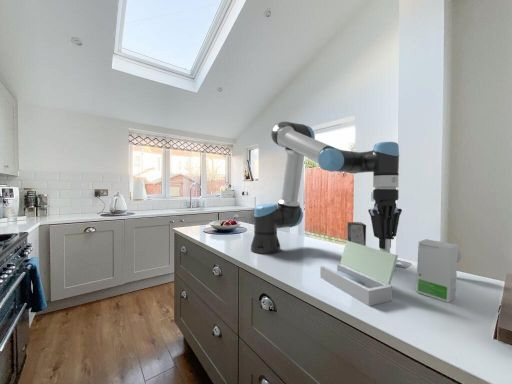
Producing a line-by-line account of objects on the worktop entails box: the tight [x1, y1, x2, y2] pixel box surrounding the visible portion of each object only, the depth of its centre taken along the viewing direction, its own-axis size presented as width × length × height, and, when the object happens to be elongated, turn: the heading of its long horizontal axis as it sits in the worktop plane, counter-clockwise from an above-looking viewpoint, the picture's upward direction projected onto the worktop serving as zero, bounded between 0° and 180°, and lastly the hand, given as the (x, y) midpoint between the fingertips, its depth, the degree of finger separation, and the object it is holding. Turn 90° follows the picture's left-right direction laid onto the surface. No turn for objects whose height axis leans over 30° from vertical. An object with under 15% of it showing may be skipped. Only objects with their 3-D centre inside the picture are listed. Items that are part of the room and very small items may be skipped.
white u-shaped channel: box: [319, 263, 393, 306], centre depth 74 cm, size 21×8×4 cm, turn 20°
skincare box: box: [415, 238, 459, 304], centre depth 69 cm, size 8×7×16 cm
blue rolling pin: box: [336, 270, 365, 286], centre depth 76 cm, size 10×3×3 cm, turn 20°
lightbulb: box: [457, 249, 462, 264], centre depth 84 cm, size 6×6×11 cm
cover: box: [339, 240, 399, 286], centre depth 76 cm, size 20×9×1 cm
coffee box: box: [346, 221, 367, 246], centre depth 104 cm, size 9×6×16 cm
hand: (384, 257), depth 79 cm, fingers closed
